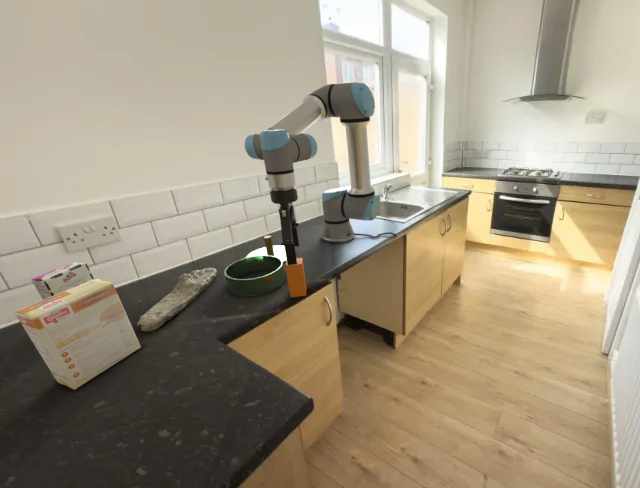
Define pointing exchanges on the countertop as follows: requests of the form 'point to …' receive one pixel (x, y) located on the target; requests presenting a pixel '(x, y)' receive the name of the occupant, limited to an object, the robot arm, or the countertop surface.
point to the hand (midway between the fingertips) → (293, 254)
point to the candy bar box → (62, 279)
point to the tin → (255, 284)
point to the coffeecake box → (80, 331)
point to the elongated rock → (177, 298)
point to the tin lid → (270, 250)
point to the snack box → (296, 278)
